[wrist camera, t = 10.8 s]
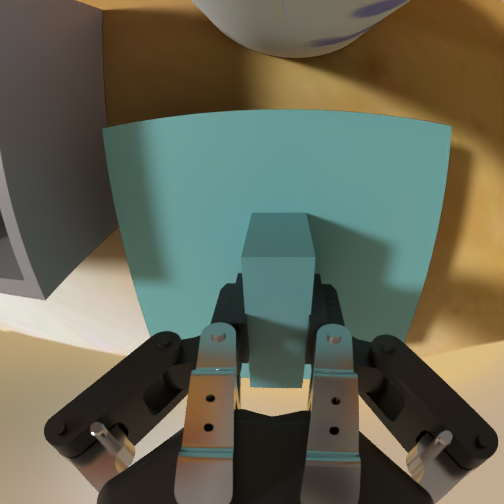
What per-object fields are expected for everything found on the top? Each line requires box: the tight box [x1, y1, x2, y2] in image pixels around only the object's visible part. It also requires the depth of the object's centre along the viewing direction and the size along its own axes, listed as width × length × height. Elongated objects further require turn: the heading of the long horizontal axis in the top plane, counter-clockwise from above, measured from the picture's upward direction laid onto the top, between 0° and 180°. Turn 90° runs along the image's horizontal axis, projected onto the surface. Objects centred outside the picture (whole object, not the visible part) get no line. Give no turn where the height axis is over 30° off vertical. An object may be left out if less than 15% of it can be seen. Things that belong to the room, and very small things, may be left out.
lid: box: [102, 109, 452, 388], centre depth 14 cm, size 16×16×6 cm
